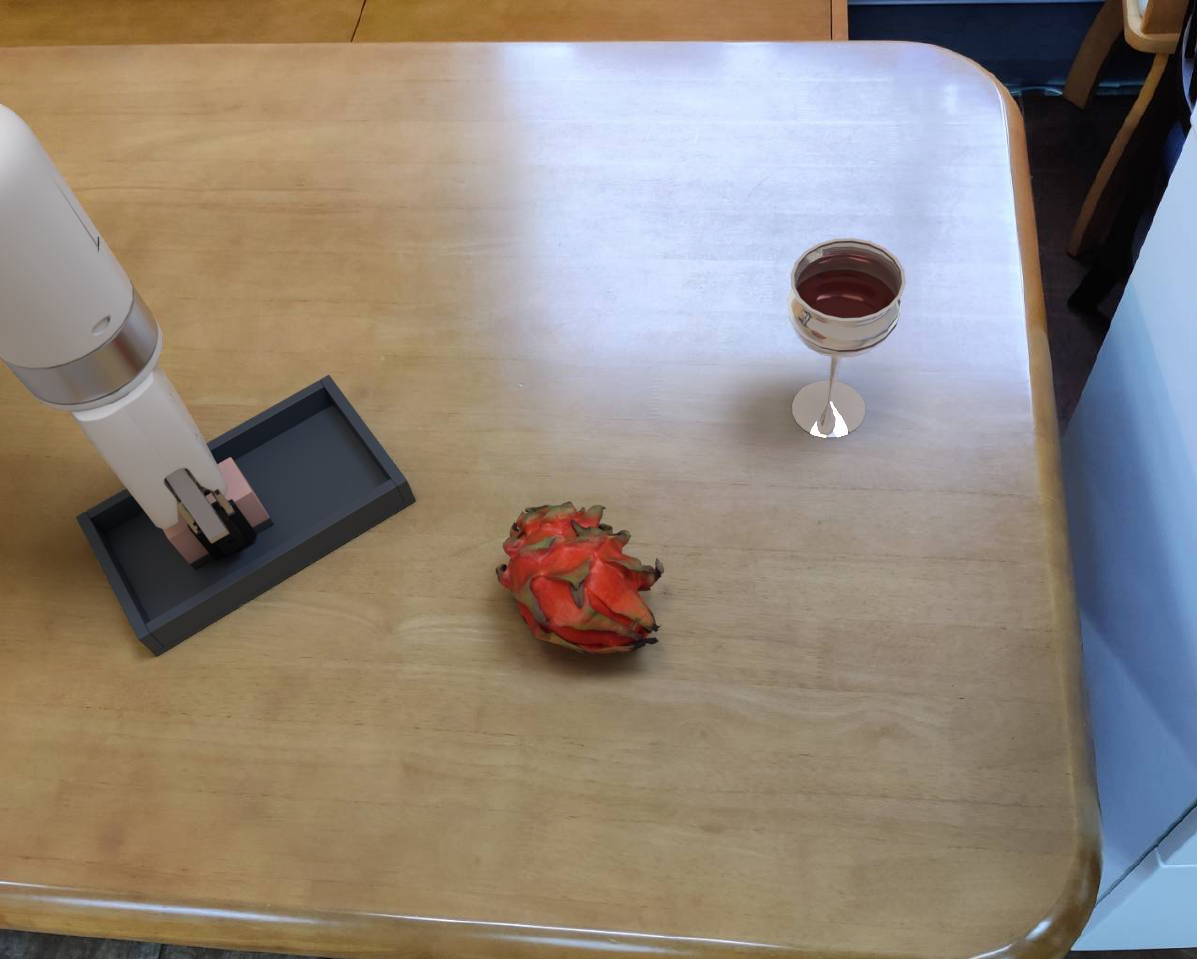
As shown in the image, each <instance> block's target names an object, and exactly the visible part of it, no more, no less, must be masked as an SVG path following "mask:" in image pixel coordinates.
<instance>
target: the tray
mask: <svg viewBox="0 0 1197 959" xmlns="http://www.w3.org/2000/svg"><path fill="white" fill-rule="evenodd" d="M206 444H207V446H208V448H209V450H210V452H211V454H212V456H213V457H214V459H215V461H216V463H217V464H219V463H221V462H223V461H224V460H226V459H228V458H230V457H231V458H232V459H233V461H234V462H235V464H236V465H237V467H238V468H239V470H240V471H241V473H242V474H243V476H244V477H245V479H246V480H247V482H248V483H249V485H250V486H251V488H252V489H253V491H254V492H255V494H256V495H257V497H258V499H259V500H260V502H261V503H262V505H263V507H264V508H265V510H266V511H267V513H268V515H269V516H270V518H271V519H272V521H273V523H274V525H272V526H270V527H269V528H267V529H265V530H263V531H262V532H260V533H258V534H257V537H256V539H254V540H253V541H251V542H250V543H248V544H246V545H244V546H243V547H242V548H240V549H239V550H237V551H235V552H233V553H231V554H229V555H227V556H225V557H224V558H222V559H220V560H214V559H213V560H212V561H210V562H208V563H206V564H205V565H203V566H201V567H200V568H198V569H196V570H195V569H193V567H192V566H191V565H190V564H189V563H188V562H187V560H186V559H185V558H184V557H183V556H182V555H181V553H180V552H179V551H178V550H177V549H176V548H175V546H174V545H173V544H172V543H171V542H170V541H169V540H168V538H167V536H166V534H165V533H164V531H163V529H162V528H159V527H157V526H155V524H154V523H153V522H152V520H151V519H150V518H149V516H148V515H147V514H146V512H145V511H144V510H143V509H142V507H141V506H140V505H139V503H138V502H137V501H136V500H135V498H134V497H133V496H132V495H131V493H130V492H129V491H128V489H127V488H126V487H125V488H124V489H123V490H121V491H118V492H117V493H115V494H114V495H111V496H110V497H108V498H106V499H105V500H103V501H101V502H99V503H97V504H96V505H93V506H92V507H90V508H89V509H86V511H83V512H81V513H80V514H78V515H76V516H75V519H76V521H77V523H78V525H79V527H80V529H81V531H82V533H83V534H84V537H85V540H87V542H88V543H87V544H89V546H90V549H91V550H92V552H93V554H94V556H95V558H96V560H97V562H98V565H99V566H100V568H101V570H102V572H103V574H104V576H105V578H106V580H107V582H108V584H109V586H110V587H111V589H112V592H113V594H114V595H115V597H116V599H117V601H118V603H119V605H120V607H121V609H122V611H123V613H124V615H125V617H126V618H127V620H128V622H129V624H130V627H131V628H132V630H133V632H134V634H135V637H136V638H137V640H138V641H139V642H140V643H141V644H142V645H143V646H144V647H146V649H147V650H149V651H150V652H151V653H152V654H153V655H154V656H155V657H159V656H160V655H162V654H163V653H165V652H167V651H168V650H170V649H172V648H173V647H175V646H176V645H178V644H180V643H181V642H184V641H185V640H187V639H188V638H190V637H192V636H194V635H195V634H197V633H198V632H200V631H202V630H203V629H205V628H207V627H208V626H211V625H212V624H213V623H215V622H217V621H218V620H220V619H222V618H223V617H225V616H227V615H229V614H230V613H231V612H234V611H236V610H237V609H238V608H241V607H242V606H243V605H245V604H247V603H248V602H251V600H253V599H255V598H257V597H258V596H260V595H262V594H264V593H265V592H267V591H268V590H270V589H272V588H274V587H275V586H276V585H278V584H280V583H282V582H284V581H285V580H287V579H289V578H290V577H292V576H293V575H295V574H297V573H299V572H300V571H302V570H303V569H305V568H307V567H308V566H310V565H312V564H313V563H315V562H317V561H318V560H320V559H322V558H323V557H325V556H327V555H328V554H330V553H332V552H333V551H335V550H337V549H339V548H340V547H342V546H343V545H345V544H347V543H348V542H350V541H352V540H353V539H355V538H356V537H359V536H360V535H362V534H363V533H365V532H366V531H368V530H370V529H372V528H373V527H375V526H376V525H378V524H380V523H381V522H384V521H385V520H387V519H388V518H390V517H392V516H394V515H395V514H396V513H398V512H400V511H402V510H403V509H405V508H407V507H409V506H410V505H412V504H414V503H415V502H417V500H416V497H415V495H414V493H413V490H412V488H411V486H410V483H409V481H408V480H407V478H406V477H405V475H404V474H403V473H402V471H401V470H400V469H399V466H397V464H396V463H395V461H394V460H393V459H392V457H391V456H390V455H389V454H388V452H387V451H386V449H385V448H384V447H383V445H382V444H381V443H380V441H379V440H378V439H377V437H376V436H375V435H374V433H373V432H372V430H371V429H370V428H369V426H368V425H367V423H365V421H364V419H362V417H361V416H360V414H359V413H358V412H357V410H356V409H355V407H354V406H353V405H352V404H351V402H350V401H349V400H348V398H347V397H346V396H345V394H344V392H343V391H342V390H341V389H340V387H339V386H338V385H337V383H336V382H335V380H334V379H333V377H331V375H330V374H327V375H325V376H323V377H321V378H320V379H319V380H317V381H315V382H313V383H310V384H309V385H308V386H306V387H304V388H302V389H300V390H298V391H297V392H295V393H292V394H291V395H289V396H288V397H286V398H285V399H283V400H281V401H279V402H277V403H275V404H274V405H272V406H270V407H268V408H266V409H265V410H263V411H261V412H259V413H258V414H256V415H254V416H253V417H251V418H248V419H247V420H246V421H243V422H242V423H240V424H238V425H237V426H234V427H233V428H231V429H229V430H228V431H225V432H224V433H222V434H221V435H218V436H217V437H215V438H213V439H211V440H210V441H208V442H206Z"/></svg>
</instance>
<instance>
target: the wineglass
mask: <svg viewBox="0 0 1197 959" xmlns="http://www.w3.org/2000/svg"><path fill="white" fill-rule="evenodd" d="M906 283H907V282H906V274H905V269H904V267H903V265H902V263H901V262H900V260H899V259H898V256H895V254H893V253H892V252H891V251H890V250H889V249H887V248H886V247H884V246H883V245H880V244H877V243H875V242H872V241H871V240H867V239H866V240H865V239H859V238H856V237H855V238H854V237H847V238H844V237H843V238H833V239H829V240H826V241H822V242H819V243H817V244H814V246H812V247H810V248H808V249H807V250H805V251H804V252H802V254H801V255H800V256H799V257H798V258H797V259H796V260H795V262H794V264H793V267H792V269H791V272H790V287H791V288H790V290H789V294H788V296H787V313H788V321H789V324H790V325H791V327H792V329H793V330H794V333H795V335H796V337H797V339H798V340H799V341H800V343H802V344H803V345H804V346H805V347H806V348H807V349H809V350H811V351H812V352H815V353H816V354H819V355H821V356H826V357H830V359H829V369H828V370H829V372H828V379H825V380H823V379H822V380H818V381H817V380H816V381H813V382H811V383H808V384H807V385H805V386H804V387H802V388H800V390H799V391H798V392H797V393H796V394H795V396H794V398H793V400H792V401H793V402H792V403H791V412H792V416H793V418H794V420H795V422H796V424H797V425H799V427H800V428H801V429H803V430H804V431H805V432H807V433H810V434H811V435H813V436H817V437H822V438H839V437H842V436H845V435H848V434H850V433H852V432H853V431H855V430H857V428H858V427H859V426H860V425H861V424H862V423H863V421H864V418H865V415H866V402H865V401H864V399H863V397H862V394H860V392H858V390H856V389H855V388H854V387H853V386H851V385H849V384H847V383H846V382H842V381H838V376H839V371H840V368H841V363H842V359H843V358H844V359H845V358H847V359H848V358H855V357H858V356H863V355H866V354H869V353H870V352H872V351H873V350H875V349H878V347H880V346H881V345H882V344H883V343H884V342H885V341H886V340H887V338H888V337H889V336H890V335H891V334H892V332H893V331H894V330H895V328H896V327H897V325H898V322H899V319H900V315H901V311H902V307H903V306H902V296H903V293H904V290H905V287H906Z"/></svg>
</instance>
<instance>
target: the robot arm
mask: <svg viewBox="0 0 1197 959" xmlns="http://www.w3.org/2000/svg"><path fill="white" fill-rule="evenodd" d="M163 347H164V336H163V330H162V327H161V325H160V323H159V322H158V320H157V319H156V317H155V315H154V314H153V312H152V311H151V309H150V308H149V306H148V305H147V303H146V302H145V300H144V299H143V297H142V296H141V294H140V292H139V291H138V290H137V288H136V287H135V285H134V284H133V282H132V280H131V279H130V277H129V276H128V274H127V273H126V271H125V269H124V268H123V266H122V265H121V264H120V262H119V260H118V259H117V257H116V256H115V254H114V252H113V251H112V250H111V249H110V247H109V245H108V244H107V242H106V240H105V239H104V238H103V236H102V235H101V233H100V232H99V230H98V229H97V227H96V225H95V224H94V222H93V220H92V219H91V218H90V216H89V215H88V213H87V211H86V210H85V209H84V206H82V204H81V202H80V201H79V200H78V198H77V196H76V195H75V193H74V192H73V190H72V189H71V187H70V186H69V184H68V182H67V181H66V180H65V178H64V177H63V175H62V173H61V172H60V170H59V169H58V167H57V166H56V164H55V162H54V161H53V160H52V158H51V156H50V155H49V154H48V152H47V150H46V149H45V148H44V146H43V144H42V143H41V141H40V140H39V138H38V137H37V136H36V135H35V133H34V132H33V131H32V129H31V127H30V126H29V125H28V124H27V122H25V121H24V120H23V118H21V117H20V116H19V115H18V114H17V113H16V112H15V111H13V110H12V109H10V108H9V107H7V106H6V105H4V104H2V103H0V360H1V361H2V362H3V363H4V364H5V366H6V367H7V368H8V369H9V370H10V371H11V373H12V374H13V375H14V376H15V377H16V378H17V379H18V380H19V382H21V384H22V385H23V386H24V387H25V388H26V389H27V391H28V392H29V393H30V394H31V395H32V396H33V398H34V399H36V400H37V401H38V402H39V403H40V404H42V405H43V406H46V407H48V408H50V409H54V410H57V411H61V412H63V411H64V412H68V413H69V414H70V416H71V417H72V418H73V420H74V422H75V423H76V424H77V426H78V427H79V429H80V430H81V431H82V433H83V434H84V436H85V438H86V439H87V440H88V441H89V442H90V443H91V445H92V447H94V449H95V450H96V452H97V453H98V454H99V455H100V456H101V458H102V459H103V460H104V462H105V463H106V464H107V466H108V467H109V468H110V470H111V471H112V472H113V473H114V475H115V476H116V478H118V480H119V481H120V482H121V483H122V485H123V486H124V487H125V489H126V488H127V489H128V491H129V492H130V493H131V495H132V496H133V497H134V498H135V500H136V501H137V502H138V503H139V505H140V506H141V507H142V509H143V510H144V511H145V512H146V514H147V515H148V516H149V518H150V519H151V520H152V522H153V523H154V524H155V526H157V527H159V528H162V529H168V528H170V527H172V526H174V525H176V524H178V512H179V513H180V514H181V516H182V517H183V518H184V519H185V521H186V522H187V523H188V524H187V526H188V528H189V529H190V531H191V532H192V533H193V534H194V536H195V537H196V538H197V539H198V541H199V542H200V543H201V544H202V545H203V547H204V548H205V549H206V550H207V552H208V553H209V554H210V555H211V556H212V558H213V559H214V560H220V559H222V558H224V557H225V556H227V555H229V554H231V553H233V552H235V551H237V550H239V549H240V548H242V547H243V546H244V545H246V544H248V543H250V542H251V541H253V540H254V539H256V537H257V534H256V532H255V531H254V529H253V527H252V526H251V525H250V523H249V522H248V520H247V519H246V518H245V516H244V515H243V514H242V512H241V511H240V509H239V508H238V507H237V505H236V504H235V502H234V501H233V500H232V499H231V500H227V499H226V497H225V494H226V492H227V488H228V485H227V483H226V481H225V479H224V477H223V475H222V473H221V471H220V469H219V467H218V465H217V463H216V461H215V459H214V457H213V456H212V454H211V452H210V450H209V448H208V446H207V444H206V443H207V442H206V440H205V438H204V436H203V434H202V433H201V431H200V429H199V427H198V425H197V424H196V422H195V420H194V418H193V417H192V415H191V413H190V411H189V410H188V408H187V406H186V404H185V403H184V401H183V399H182V398H181V396H180V395H179V393H178V392H177V390H176V388H175V386H174V385H173V384H172V382H171V381H170V379H169V378H168V375H167V374H166V373H165V371H164V369H163V368H162V367H161V365H160V364H159V360H160V358H161V354H162V351H163ZM210 493H211V494H212V495H213V497H214V498H215V499H216V501H215V502H213V503H212V504H210V502H209V501H208V500H207V498H206V497H205V496H207V495H209V494H210Z"/></svg>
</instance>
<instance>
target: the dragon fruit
mask: <svg viewBox="0 0 1197 959" xmlns="http://www.w3.org/2000/svg"><path fill="white" fill-rule="evenodd" d="M606 509H607V507H605V506H604V505H602V504H601V505H600V504H597V505H596V504H594V505H592V506H590V507H589V508H588V509H587V510H586V508H585V506H584V507H583V506H581V508H580V509H579V510H578V511H577V508H576V507H575V505H574V504H573V503H572V501H566V502H563V503H561V504H558V505H557V504H556V505H552V504H550V503H548V504H543V505H541V506H526V507H524V511H525V512H524V511H521V512H520V514H519V515H518V516H517V518H516V521H515V520H514V521H513V523H512V525H511V527H510V530H509V537H507V538H506V539H505V540H504V542H503V543H502V549H503V551H504V553H505V554H506V555H507V556H508V557H509V562H508V564H506V563H500V564H499V565H497V566H496V567H495V574H496V575H497V581H498V582H499V584H501V585H502V586H503V588H504V589H505V590H510V593H511V595H513V597H514V598H515V600H516V603H517V606H518V608H519V609H518V611H519V616H520V617H521V619H522V621H523V622H524V623H525V624H526V625H527V626H528V627H529V629H530V631H531V634H532V635H533V636H534V637H535V638H537V639H538V640H541V641H543V642H547V643H548V642H549V643H552V644H555V645H559V646H562V647H564V648H566V649H569V650H570V649H571V650H575V651H576V652H578V653H581V654H583V655H586V656H588V657H593V658H596V656H597V654H610V655H613V654H615V653H620V652H621V653H626V652H627V653H628V652H634V651H637V650H640V649H641V648H644V647H645V646H646V645H647V644H648V645H655V644H657V643H659V642H660V640H659V638H657V637H656V636H655V637H649V635H650V634H652V633H653V632H654V633H657V632H658V631H660V630H661V625H657V622H656V618H655V615H654V613H653V611H652V610H651V608H650V606H648V604H647V603H646V602H645V601H644V599H643V598H642V596H641V594H639V592H649V591H651V590H652V589H651V588H652V587H653V586H654V585H655V584H656V583H657V582H658V581H659V580H660V578H662V575H663V574H664V573H665V568H664V565H663V562H661V561H660V560H659V558H658V557H656V558H655V561H654V562H655V563H654V565H655V567H654V566H652V565H648V564H647V565H645V564H643V565H642V561H641V560H640V559H639V558H637V557H635V556H631V555H627V554H625V553H623V548H624V547H625V546H626V545H627V544H628V543H629V542H630V539H631V537H632V535H631V533H630V531H629V530H627V529H622V530H619V531H618V532H617V533H614V531H613V530H614V529H613V528H614V527H613V526H612V525H609V524H608V523H600V522H601V521H602V519H603V515H604V510H606Z"/></svg>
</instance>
